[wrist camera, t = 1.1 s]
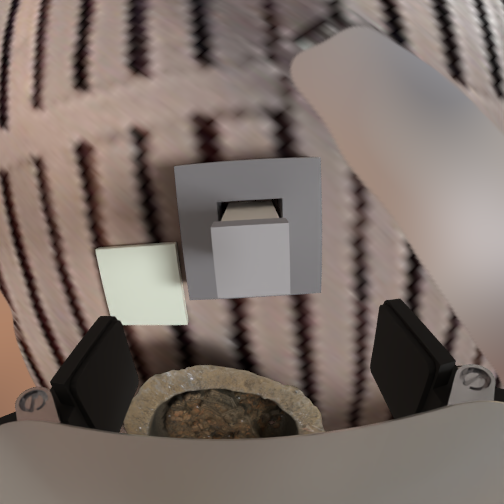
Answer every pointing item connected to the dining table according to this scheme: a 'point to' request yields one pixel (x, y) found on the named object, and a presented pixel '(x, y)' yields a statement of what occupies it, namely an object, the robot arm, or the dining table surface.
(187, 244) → the grey square ring
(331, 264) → the dining table surface
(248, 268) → the plug
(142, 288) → the coaster
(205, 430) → the stone bowl
